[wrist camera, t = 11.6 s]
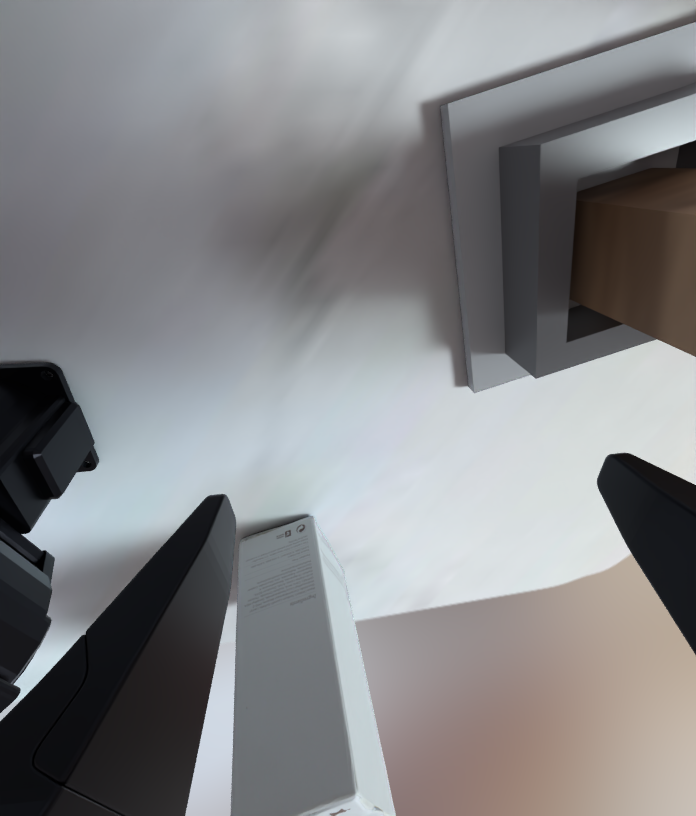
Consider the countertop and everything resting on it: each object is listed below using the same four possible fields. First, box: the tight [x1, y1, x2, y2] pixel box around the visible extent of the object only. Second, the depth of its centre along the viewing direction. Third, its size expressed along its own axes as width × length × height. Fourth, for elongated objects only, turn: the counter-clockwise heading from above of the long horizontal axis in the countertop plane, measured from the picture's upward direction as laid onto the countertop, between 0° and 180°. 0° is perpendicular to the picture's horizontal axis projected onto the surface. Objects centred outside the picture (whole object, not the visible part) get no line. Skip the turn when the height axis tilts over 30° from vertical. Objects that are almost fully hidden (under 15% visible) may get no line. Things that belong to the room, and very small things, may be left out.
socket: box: [440, 22, 696, 393], centre depth 18 cm, size 14×14×4 cm
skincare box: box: [231, 516, 396, 816], centre depth 23 cm, size 8×6×15 cm
